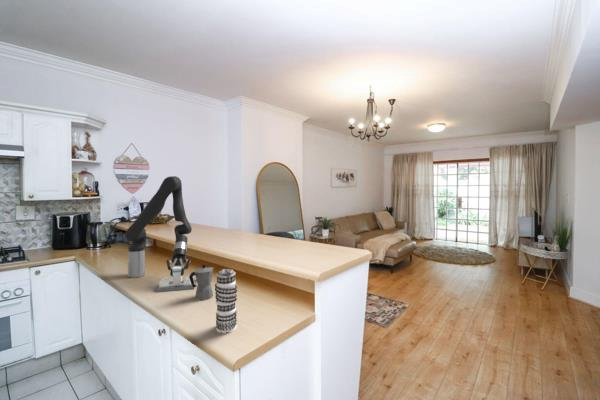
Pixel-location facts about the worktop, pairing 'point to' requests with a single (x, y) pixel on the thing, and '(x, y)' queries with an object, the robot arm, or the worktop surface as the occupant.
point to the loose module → (177, 274)
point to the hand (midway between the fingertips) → (176, 275)
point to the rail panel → (168, 285)
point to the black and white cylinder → (226, 301)
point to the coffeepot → (203, 282)
